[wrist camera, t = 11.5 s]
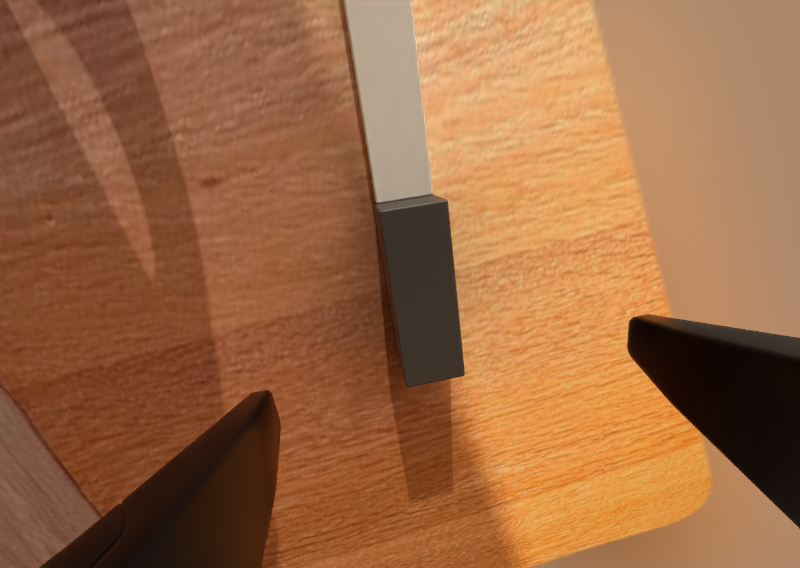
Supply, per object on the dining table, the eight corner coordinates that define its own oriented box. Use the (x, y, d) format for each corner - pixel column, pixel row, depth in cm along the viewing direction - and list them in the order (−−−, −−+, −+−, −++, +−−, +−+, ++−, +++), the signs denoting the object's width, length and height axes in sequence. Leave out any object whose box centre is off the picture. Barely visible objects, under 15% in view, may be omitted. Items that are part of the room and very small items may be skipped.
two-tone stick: (449, 348, 17) (465, 376, 15) (398, 358, 17) (406, 388, 15) (396, -135, 12) (408, -206, 9) (318, -128, 11) (312, -199, 9)
